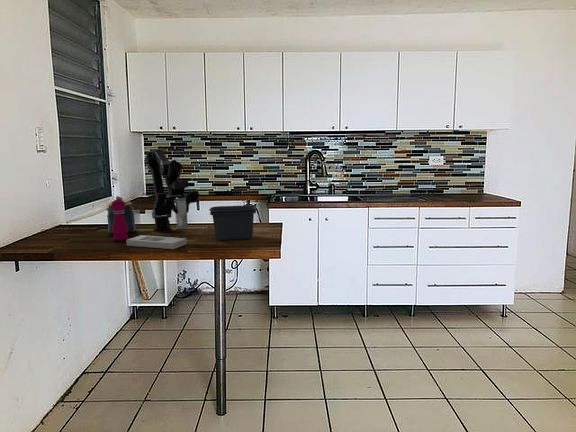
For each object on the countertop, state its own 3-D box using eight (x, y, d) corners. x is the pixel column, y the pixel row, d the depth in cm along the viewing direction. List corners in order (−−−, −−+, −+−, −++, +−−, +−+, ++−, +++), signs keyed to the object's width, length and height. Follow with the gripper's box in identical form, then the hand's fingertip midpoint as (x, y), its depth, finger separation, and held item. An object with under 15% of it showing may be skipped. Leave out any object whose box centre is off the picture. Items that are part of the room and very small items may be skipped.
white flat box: (126, 245, 201) (126, 239, 200) (141, 240, 210) (141, 234, 210) (173, 249, 193) (173, 242, 192) (186, 244, 202) (186, 238, 201)
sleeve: (174, 227, 204) (173, 198, 202) (181, 225, 208) (179, 197, 206) (183, 228, 202) (181, 198, 200) (189, 226, 206) (188, 197, 204)
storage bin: (209, 241, 206) (208, 210, 204) (213, 234, 221) (211, 205, 219) (257, 240, 207) (256, 209, 205) (257, 233, 222) (256, 204, 220)
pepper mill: (132, 237, 216) (129, 195, 213) (120, 240, 210) (117, 197, 207) (120, 236, 219) (117, 195, 216) (109, 239, 213) (105, 196, 210)
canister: (140, 229, 237) (138, 195, 234) (127, 234, 224) (124, 198, 221) (117, 228, 239) (114, 195, 236) (103, 234, 226) (100, 198, 223)
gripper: (155, 175, 200) (164, 203, 192) (196, 172, 209) (206, 199, 201) (152, 191, 208) (160, 219, 200) (192, 188, 217) (201, 214, 209)
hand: (182, 212), depth 203 cm, fingers closed on sleeve, 5 cm apart
